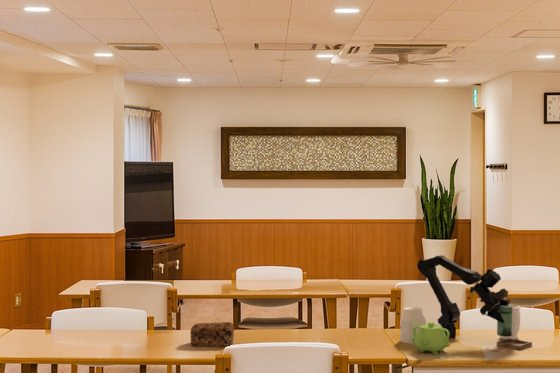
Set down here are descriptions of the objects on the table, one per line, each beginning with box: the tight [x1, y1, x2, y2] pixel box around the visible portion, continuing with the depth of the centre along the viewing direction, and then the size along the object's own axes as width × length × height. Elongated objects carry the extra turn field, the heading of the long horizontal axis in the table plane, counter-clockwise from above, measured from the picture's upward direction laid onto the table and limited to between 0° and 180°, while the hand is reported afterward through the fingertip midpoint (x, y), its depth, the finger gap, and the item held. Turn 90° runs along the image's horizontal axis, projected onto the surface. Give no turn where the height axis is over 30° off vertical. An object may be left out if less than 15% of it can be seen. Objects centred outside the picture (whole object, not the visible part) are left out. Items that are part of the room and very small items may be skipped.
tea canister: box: [496, 306, 513, 337], centre depth 361 cm, size 7×7×12 cm
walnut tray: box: [496, 339, 533, 351], centre depth 358 cm, size 11×11×2 cm
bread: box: [190, 321, 235, 348], centre depth 363 cm, size 19×11×10 cm, turn 87°
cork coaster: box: [484, 346, 507, 353], centre depth 351 cm, size 9×9×1 cm
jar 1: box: [399, 306, 427, 345], centre depth 370 cm, size 12×10×15 cm
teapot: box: [412, 321, 451, 355], centre depth 349 cm, size 16×14×13 cm
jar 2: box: [499, 304, 521, 340], centre depth 378 cm, size 11×10×15 cm
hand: (507, 321), depth 360 cm, fingers closed on tea canister, 6 cm apart
